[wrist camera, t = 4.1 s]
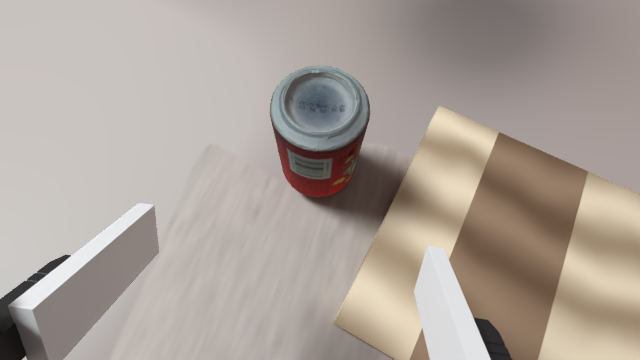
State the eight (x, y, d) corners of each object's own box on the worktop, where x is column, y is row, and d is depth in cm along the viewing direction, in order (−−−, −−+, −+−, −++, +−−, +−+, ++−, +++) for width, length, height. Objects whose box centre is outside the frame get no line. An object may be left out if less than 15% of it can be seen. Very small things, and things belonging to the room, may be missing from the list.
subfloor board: (434, 113, 36) (439, 105, 35) (706, 234, 32) (725, 231, 30) (333, 322, 29) (334, 323, 27) (672, 521, 24) (696, 535, 23)
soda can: (354, 203, 33) (374, 146, 21) (281, 202, 32) (263, 145, 21) (352, 139, 35) (370, 58, 24) (285, 138, 35) (270, 56, 24)
